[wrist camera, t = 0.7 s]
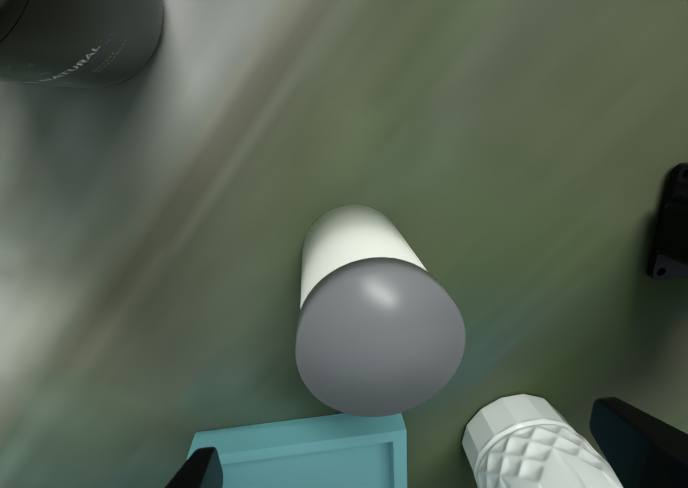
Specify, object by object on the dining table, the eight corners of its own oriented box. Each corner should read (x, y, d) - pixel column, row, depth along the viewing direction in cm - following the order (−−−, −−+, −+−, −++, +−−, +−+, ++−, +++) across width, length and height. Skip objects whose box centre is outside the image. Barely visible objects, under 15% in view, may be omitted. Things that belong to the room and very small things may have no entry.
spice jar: (402, 198, 18) (469, 263, 11) (403, 293, 20) (461, 406, 13) (294, 208, 18) (284, 283, 10) (306, 303, 20) (305, 426, 12)
